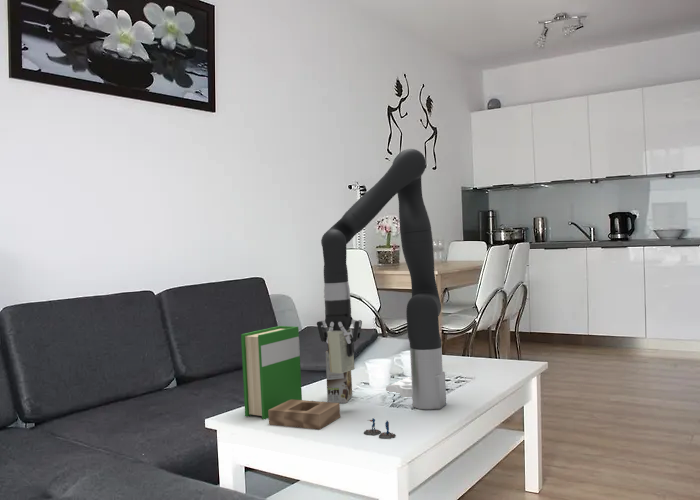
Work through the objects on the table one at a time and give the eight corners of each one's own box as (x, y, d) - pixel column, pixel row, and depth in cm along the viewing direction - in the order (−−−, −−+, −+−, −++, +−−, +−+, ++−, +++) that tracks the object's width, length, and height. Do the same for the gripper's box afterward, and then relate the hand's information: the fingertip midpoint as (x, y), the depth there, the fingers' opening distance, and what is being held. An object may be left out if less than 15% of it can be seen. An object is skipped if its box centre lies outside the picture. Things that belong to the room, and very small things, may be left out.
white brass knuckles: (407, 384, 214) (447, 387, 206) (381, 396, 199) (422, 401, 191) (407, 374, 214) (446, 377, 206) (380, 386, 199) (421, 390, 191)
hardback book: (264, 419, 178) (260, 335, 177) (245, 416, 182) (240, 334, 181) (302, 404, 193) (298, 326, 192) (283, 402, 197) (279, 325, 196)
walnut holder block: (340, 417, 176) (339, 403, 176) (319, 429, 165) (319, 414, 165) (291, 412, 183) (290, 399, 183) (268, 424, 172) (268, 410, 172)
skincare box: (344, 368, 186) (341, 327, 186) (355, 369, 183) (352, 328, 183) (329, 372, 181) (326, 330, 181) (340, 374, 178) (337, 331, 178)
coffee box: (347, 403, 191) (344, 350, 191) (327, 403, 192) (324, 350, 192) (353, 395, 200) (350, 345, 200) (333, 395, 201) (331, 345, 201)
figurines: (401, 436, 157) (400, 419, 157) (389, 441, 154) (388, 423, 154) (371, 429, 164) (370, 413, 164) (359, 434, 161) (358, 417, 160)
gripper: (365, 296, 182) (369, 354, 182) (321, 297, 188) (325, 353, 189) (354, 298, 176) (358, 359, 176) (309, 300, 182) (313, 358, 182)
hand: (341, 355), depth 182 cm, fingers closed on skincare box, 5 cm apart
